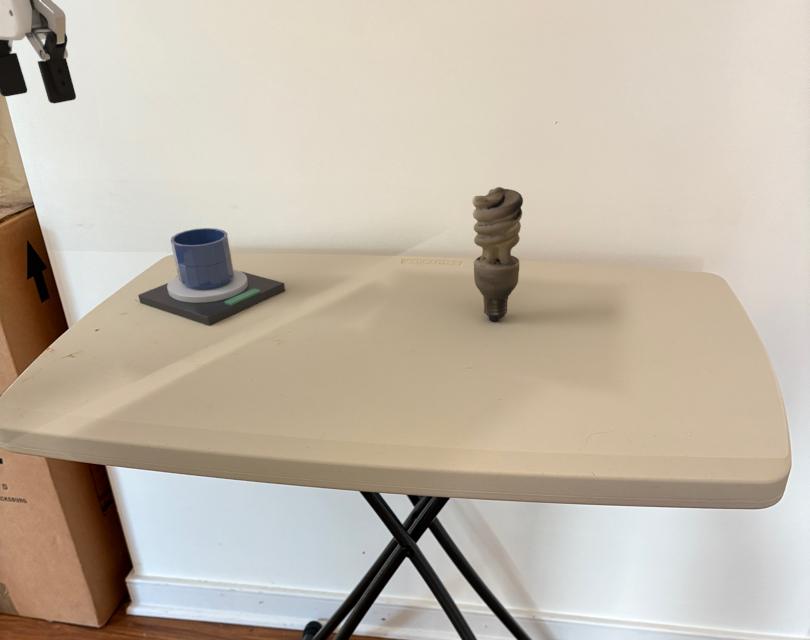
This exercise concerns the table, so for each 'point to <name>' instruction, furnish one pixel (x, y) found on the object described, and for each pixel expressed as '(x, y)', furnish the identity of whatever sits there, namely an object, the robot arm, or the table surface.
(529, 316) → the table surface
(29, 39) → the robot arm
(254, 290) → the scale
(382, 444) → the table surface
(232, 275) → the cup
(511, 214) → the light bulb
